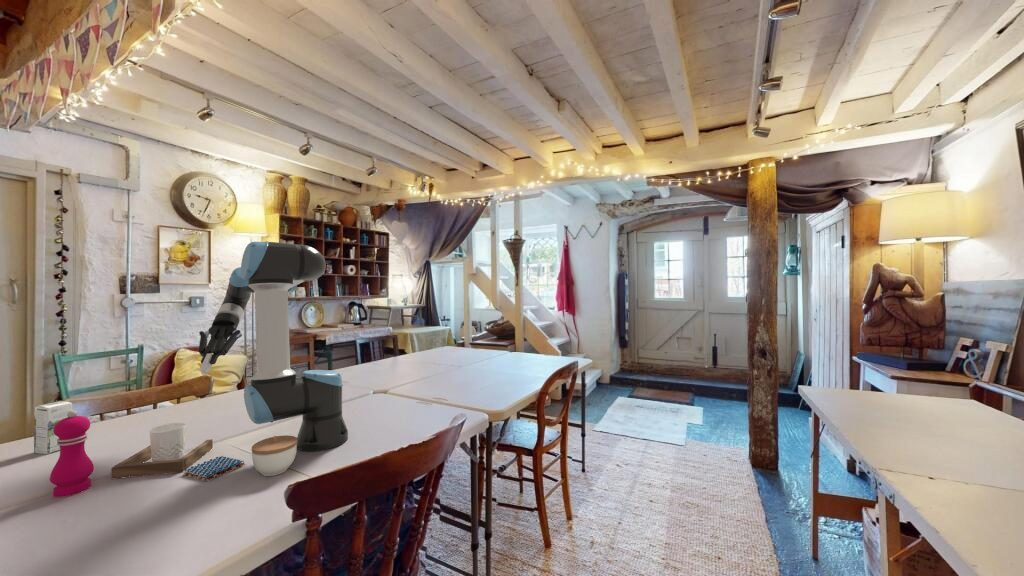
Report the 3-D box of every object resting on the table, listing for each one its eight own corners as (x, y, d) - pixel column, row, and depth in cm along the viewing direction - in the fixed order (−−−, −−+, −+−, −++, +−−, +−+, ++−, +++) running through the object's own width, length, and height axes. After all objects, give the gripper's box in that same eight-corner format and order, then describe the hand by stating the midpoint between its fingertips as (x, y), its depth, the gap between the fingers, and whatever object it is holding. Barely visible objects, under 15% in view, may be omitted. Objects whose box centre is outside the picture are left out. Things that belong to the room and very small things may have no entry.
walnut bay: (151, 454, 116) (151, 444, 116) (212, 448, 119) (212, 439, 119) (111, 479, 101) (111, 467, 101) (182, 471, 104) (182, 461, 104)
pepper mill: (53, 501, 90) (52, 417, 90) (46, 493, 94) (46, 412, 94) (97, 488, 96) (97, 408, 96) (90, 480, 100) (89, 404, 100)
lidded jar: (242, 476, 102) (242, 441, 102) (279, 459, 112) (279, 427, 112) (269, 483, 98) (269, 447, 98) (306, 465, 108) (306, 432, 108)
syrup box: (58, 445, 122) (58, 400, 122) (72, 447, 121) (72, 401, 121) (33, 453, 117) (33, 406, 117) (47, 454, 116) (47, 407, 116)
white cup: (161, 469, 106) (161, 433, 106) (142, 465, 108) (142, 430, 108) (192, 457, 113) (192, 424, 113) (174, 454, 116) (174, 421, 116)
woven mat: (206, 484, 99) (206, 476, 99) (180, 477, 102) (180, 470, 102) (247, 466, 108) (247, 459, 108) (222, 461, 112) (222, 454, 112)
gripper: (250, 324, 147) (230, 376, 130) (211, 325, 143) (185, 379, 127) (244, 311, 141) (222, 364, 125) (203, 312, 138) (175, 366, 122)
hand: (203, 371), depth 126 cm, fingers closed
